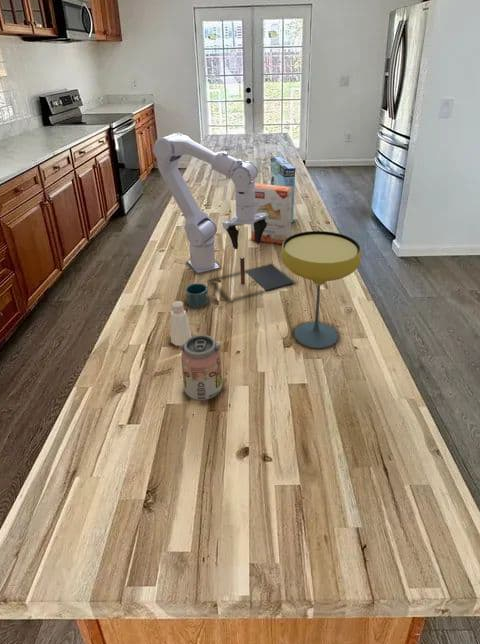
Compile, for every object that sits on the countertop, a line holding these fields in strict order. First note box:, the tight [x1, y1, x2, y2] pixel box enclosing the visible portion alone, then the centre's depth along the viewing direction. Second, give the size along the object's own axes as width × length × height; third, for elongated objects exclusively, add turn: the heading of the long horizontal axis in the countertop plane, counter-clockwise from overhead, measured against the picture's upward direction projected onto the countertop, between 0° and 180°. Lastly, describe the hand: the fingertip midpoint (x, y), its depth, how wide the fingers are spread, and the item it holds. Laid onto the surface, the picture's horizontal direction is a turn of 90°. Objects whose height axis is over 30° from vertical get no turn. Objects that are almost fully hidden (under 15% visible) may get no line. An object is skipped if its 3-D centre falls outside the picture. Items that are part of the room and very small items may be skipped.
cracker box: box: [250, 182, 292, 245], centre depth 159 cm, size 14×6×21 cm, turn 68°
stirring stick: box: [239, 255, 246, 285], centre depth 132 cm, size 1×1×9 cm
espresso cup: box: [185, 283, 209, 308], centre depth 125 cm, size 6×6×4 cm
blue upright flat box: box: [269, 156, 296, 223], centre depth 183 cm, size 20×5×23 cm, turn 13°
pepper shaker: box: [170, 300, 192, 347], centre depth 107 cm, size 5×5×11 cm
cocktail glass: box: [281, 230, 362, 349], centre depth 105 cm, size 18×18×25 cm
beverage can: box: [179, 334, 223, 402], centre depth 92 cm, size 9×8×12 cm
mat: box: [245, 264, 294, 292], centre depth 135 cm, size 14×22×1 cm, turn 116°
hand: (246, 245), depth 135 cm, fingers open, 7 cm apart
